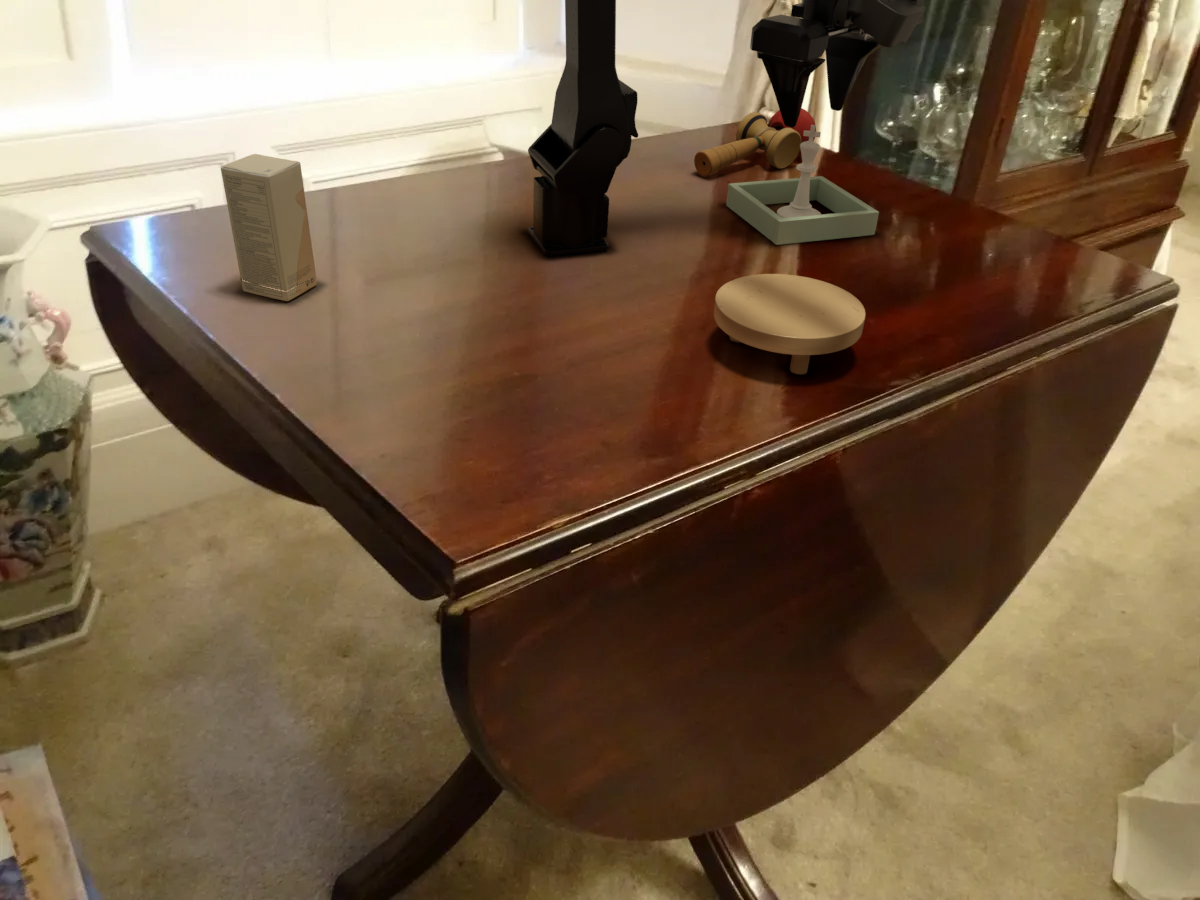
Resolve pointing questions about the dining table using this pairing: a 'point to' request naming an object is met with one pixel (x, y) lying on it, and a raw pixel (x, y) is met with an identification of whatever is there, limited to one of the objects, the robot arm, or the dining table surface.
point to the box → (270, 225)
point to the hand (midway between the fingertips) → (813, 118)
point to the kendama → (758, 142)
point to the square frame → (843, 223)
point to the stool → (789, 316)
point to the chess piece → (803, 180)
